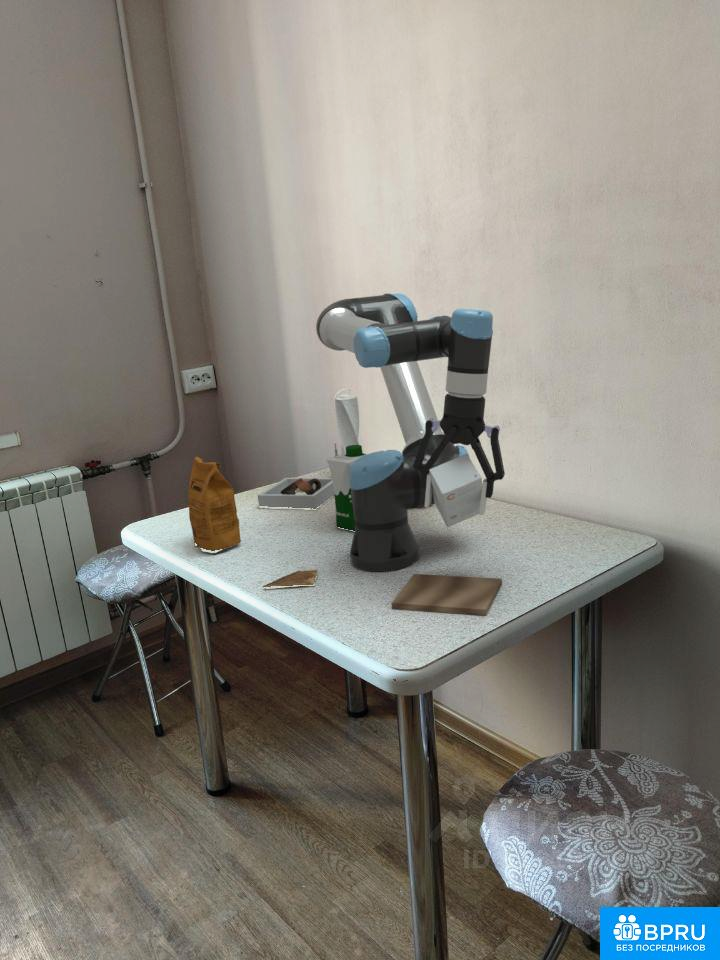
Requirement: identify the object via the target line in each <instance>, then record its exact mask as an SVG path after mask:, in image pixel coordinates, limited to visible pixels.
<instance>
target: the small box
mask: <svg viewBox="0 0 720 960" xmlns="http://www.w3.org/2000/svg"><path fill="white" fill-rule="evenodd" d="M468 454H469V453H468ZM468 454H464V455H462V456H460V457H457V458H455V459H453V460H450V461H448V462H446V463H443V464H441V465H439V466H436V467H434V468H432V469H429V472H430V478H431V484H432V490H433V496H434V502H435V504H434V505H435V508H437V511H438V512H439V514H440V517H441V518H442V520H443V522H444V524H445V526H446V527H447V528H449V527H453V526H454V525H457V524H459V523H461V522H464V521H466V520H468V519H470V518H473V517H475V516H478V515H479V513H480V503H481V493H482V483H483V478H482V476H481V474H480V473H479V471H478V470H477V468H476V466H475V465H474V463H473V460H471V458H469V457H470V455H469V456H468Z"/></svg>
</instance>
